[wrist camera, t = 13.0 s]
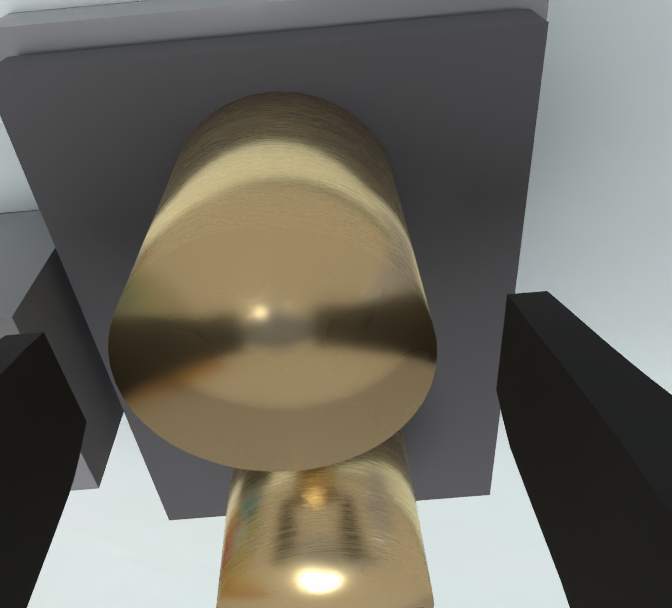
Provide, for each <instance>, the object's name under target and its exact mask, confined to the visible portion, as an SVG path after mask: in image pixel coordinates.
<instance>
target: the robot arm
mask: <svg viewBox="0 0 672 608" xmlns="http://www.w3.org/2000/svg"><path fill="white" fill-rule="evenodd" d="M496 391H497V395H498V400H499V404H500V408H501V413H502V417H503V421H504V425H505V429H506V433H507V437H508V441H509V445H510V448H511V451H512V454H513V456H514V459H515V462H516V464H517V467H518V470H519V472H520V475H521V478H522V480H523V483H524V486H525V488H526V491H527V494H528V496H529V499H530V501H531V504H532V507H533V509H534V512H535V514H536V517H537V520H538V522H539V525H540V527H541V530H542V533H543V535H544V538H545V541H546V543H547V546H548V548H549V551H550V554H551V556H552V559H553V561H554V564H555V567H556V569H557V572H558V574H559V577H560V580H561V583H562V586H563V589H564V592H565V594H566V597H567V600H568V603H569V606H570V608H672V395H671V394H670V393H668V392H667V391H666V390H665V389H663V388H662V387H661V386H659V385H658V384H657V383H655V382H654V381H653V380H652V379H650V378H649V377H648V376H647V375H645V374H644V373H643V372H642V371H640V370H639V369H638V368H637V367H636V366H634V365H633V364H632V363H631V362H629V361H628V360H627V359H626V358H625V357H623V356H622V355H621V354H620V353H619V352H617V351H616V350H615V349H614V348H613V347H611V346H610V345H609V344H608V343H607V342H606V341H604V340H603V339H602V338H601V337H600V336H599V335H597V334H596V333H595V332H594V331H593V330H592V329H590V328H589V327H588V326H587V325H586V324H585V323H583V322H582V321H581V320H580V319H579V318H578V317H577V316H575V315H574V314H573V313H572V312H571V311H570V310H569V309H567V308H566V307H565V306H564V305H563V304H562V303H561V302H559V301H558V300H557V299H556V298H555V297H553V296H552V295H551V294H550V293H549V292H547V291H543V292H531V293H519V294H507V299H506V308H505V317H504V325H503V334H502V343H501V351H500V360H499V369H498V378H497V386H496ZM86 423H87V421H86V419H85V417H84V415H83V413H82V411H81V409H80V407H79V404H78V402H77V400H76V398H75V396H74V394H73V392H72V390H71V388H70V386H69V384H68V382H67V379H66V377H65V375H64V373H63V371H62V369H61V367H60V365H59V363H58V361H57V359H56V356H55V354H54V352H53V350H52V348H51V346H50V344H49V342H48V340H47V338H46V336H45V333H44V332H40V333H27V334H15V335H5V336H4V337H2V338H1V339H0V608H27V605H28V603H29V600H30V597H31V595H32V592H33V590H34V587H35V584H36V582H37V579H38V576H39V574H40V571H41V568H42V566H43V563H44V560H45V558H46V555H47V552H48V550H49V547H50V544H51V542H52V539H53V536H54V534H55V531H56V528H57V526H58V523H59V520H60V517H61V515H62V512H63V509H64V506H65V504H66V501H67V498H68V496H69V493H70V490H71V487H72V484H73V481H74V478H75V473H76V469H77V465H78V461H79V457H80V452H81V447H82V442H83V437H84V432H85V427H86Z"/></svg>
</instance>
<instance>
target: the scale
mask: <svg viewBox="0 0 672 608" xmlns="http://www.w3.org/2000/svg"><path fill="white" fill-rule="evenodd" d="M548 1H549V0H148V1H138V2H127V3H116V4H106V5H95V6H84V7H73V8H63V9H52V10H41V11H30V12H20V13H9V14H7V15H6V16H4V17H2V18H0V62H1V61H2V60H3V59H5V58H6V57H10V56H21V55H32V54H43V53H54V52H65V51H76V50H86V49H97V48H108V47H119V46H130V45H141V44H152V43H162V42H173V41H184V40H195V39H206V38H217V37H227V36H238V35H249V34H260V33H271V32H282V31H293V30H303V29H314V28H325V27H336V26H347V25H358V24H369V23H379V22H390V21H401V20H412V19H423V18H434V17H445V16H455V15H466V14H477V13H488V12H499V11H510V10H521V9H531V10H533V11H534V12H535V13H537V14H538V15H540V16H541V17H542V18H544V19H545V20H546V18H547V10H548ZM40 332H44V333H45V336H46V338H47V340H48V342H49V344H50V346H51V348H52V350H53V352H54V354H55V356H56V359H57V361H58V363H59V365H60V367H61V369H62V371H63V373H64V375H65V377H66V379H67V382H68V384H69V386H70V388H71V390H72V392H73V394H74V396H75V398H76V400H77V402H78V404H79V407H80V409H81V411H82V413H83V415H84V417H85V419H86V421H87V423H86V427H85V432H84V437H83V442H82V447H81V452H80V457H79V461H78V465H77V469H76V473H75V478H74V481H73V484H72V487H71V490H83V489H96V488H99V486H100V483H101V480H102V477H103V474H104V471H105V468H106V465H107V462H108V458H109V455H110V452H111V449H112V446H113V443H114V440H115V437H116V434H117V431H118V427H119V424H120V421H121V418H122V415H123V412H124V410H123V408H122V406H121V403H120V401H119V398H118V396H117V394H116V391H115V389H114V387H113V384H112V382H111V379H110V377H109V375H108V372H107V370H106V367H105V365H104V363H103V360H102V358H101V355H100V353H99V351H98V348H97V346H96V343H95V341H94V339H93V336H92V334H91V331H90V329H89V327H88V324H87V322H86V319H85V317H84V315H83V312H82V310H81V307H80V305H79V303H78V300H77V298H76V295H75V293H74V291H73V288H72V286H71V283H70V281H69V279H68V276H67V274H66V272H65V269H64V267H63V264H62V262H61V260H60V257H59V255H58V252H57V250H56V248H55V245H54V243H53V240H52V238H51V236H50V233H49V231H48V228H47V226H46V224H45V221H44V219H43V216H42V214H41V212H40V210H37V211H25V212H14V213H3V214H0V339H1V338H2V337H4V336H5V335H15V334H27V333H40ZM71 490H70V491H71Z"/></svg>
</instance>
